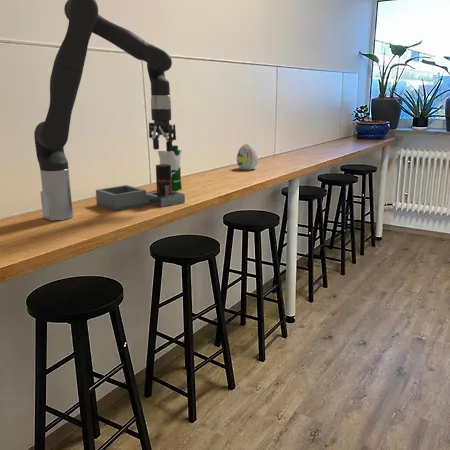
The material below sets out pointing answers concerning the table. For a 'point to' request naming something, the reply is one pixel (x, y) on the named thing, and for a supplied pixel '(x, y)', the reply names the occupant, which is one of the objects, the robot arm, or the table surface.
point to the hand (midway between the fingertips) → (162, 150)
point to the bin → (121, 197)
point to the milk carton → (172, 165)
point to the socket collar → (165, 199)
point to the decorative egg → (247, 157)
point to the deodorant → (163, 180)
